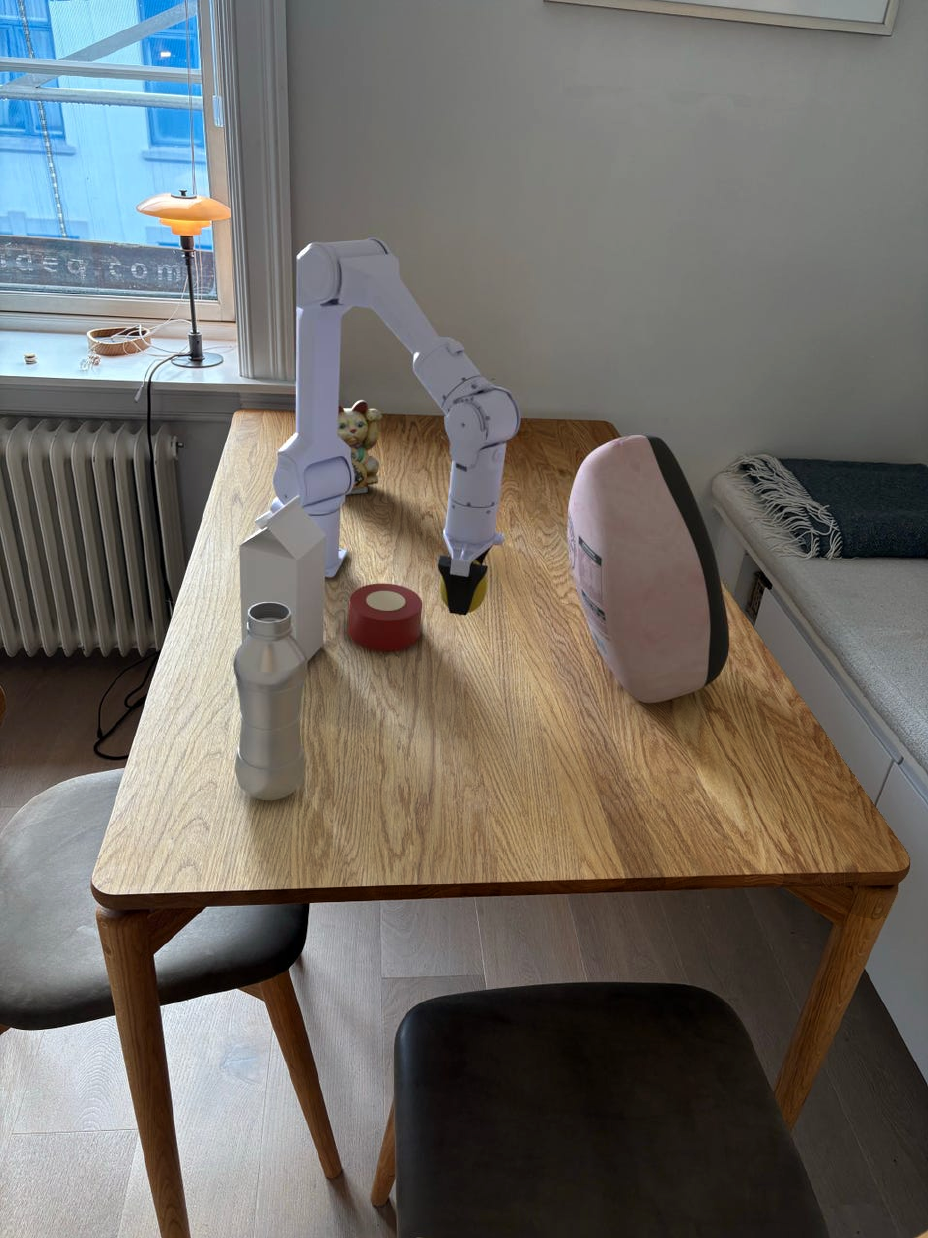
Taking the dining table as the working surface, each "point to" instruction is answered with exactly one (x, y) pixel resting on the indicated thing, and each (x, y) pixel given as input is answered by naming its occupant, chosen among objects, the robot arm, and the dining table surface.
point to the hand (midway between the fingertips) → (461, 600)
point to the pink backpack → (646, 570)
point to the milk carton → (286, 571)
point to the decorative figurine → (360, 442)
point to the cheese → (384, 617)
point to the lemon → (477, 596)
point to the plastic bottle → (270, 704)
